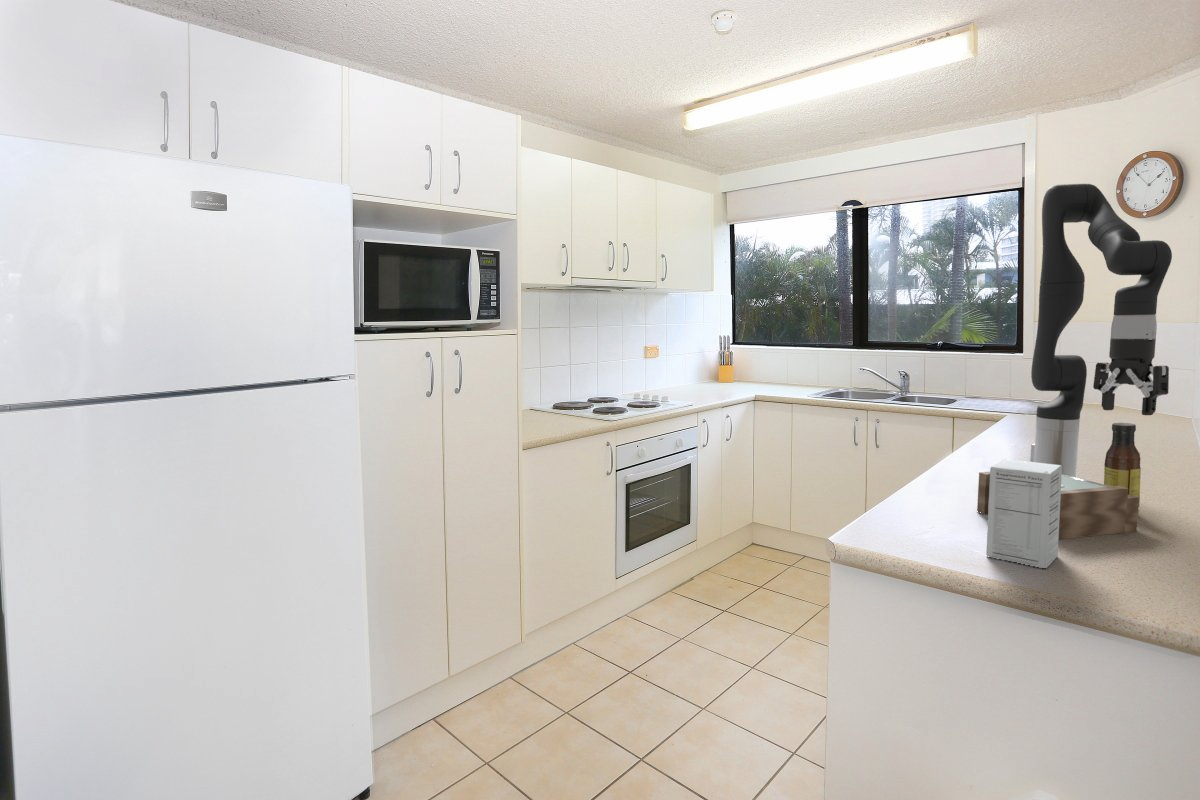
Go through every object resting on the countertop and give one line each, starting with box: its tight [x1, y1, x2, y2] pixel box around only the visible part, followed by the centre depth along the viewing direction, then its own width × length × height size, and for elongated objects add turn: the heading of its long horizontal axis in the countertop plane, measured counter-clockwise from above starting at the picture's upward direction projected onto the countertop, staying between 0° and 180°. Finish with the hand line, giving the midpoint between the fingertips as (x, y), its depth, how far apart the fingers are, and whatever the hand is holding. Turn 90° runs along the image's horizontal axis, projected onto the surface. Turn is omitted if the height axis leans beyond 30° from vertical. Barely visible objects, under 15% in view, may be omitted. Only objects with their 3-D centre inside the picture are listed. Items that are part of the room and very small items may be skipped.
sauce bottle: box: [1103, 422, 1142, 512], centre depth 143 cm, size 7×6×20 cm
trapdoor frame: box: [976, 471, 1140, 540], centre depth 138 cm, size 20×19×9 cm
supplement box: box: [986, 458, 1062, 569], centre depth 118 cm, size 10×9×17 cm
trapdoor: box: [1061, 474, 1112, 491], centre depth 138 cm, size 17×14×1 cm
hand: (1127, 412), depth 141 cm, fingers open, 8 cm apart
